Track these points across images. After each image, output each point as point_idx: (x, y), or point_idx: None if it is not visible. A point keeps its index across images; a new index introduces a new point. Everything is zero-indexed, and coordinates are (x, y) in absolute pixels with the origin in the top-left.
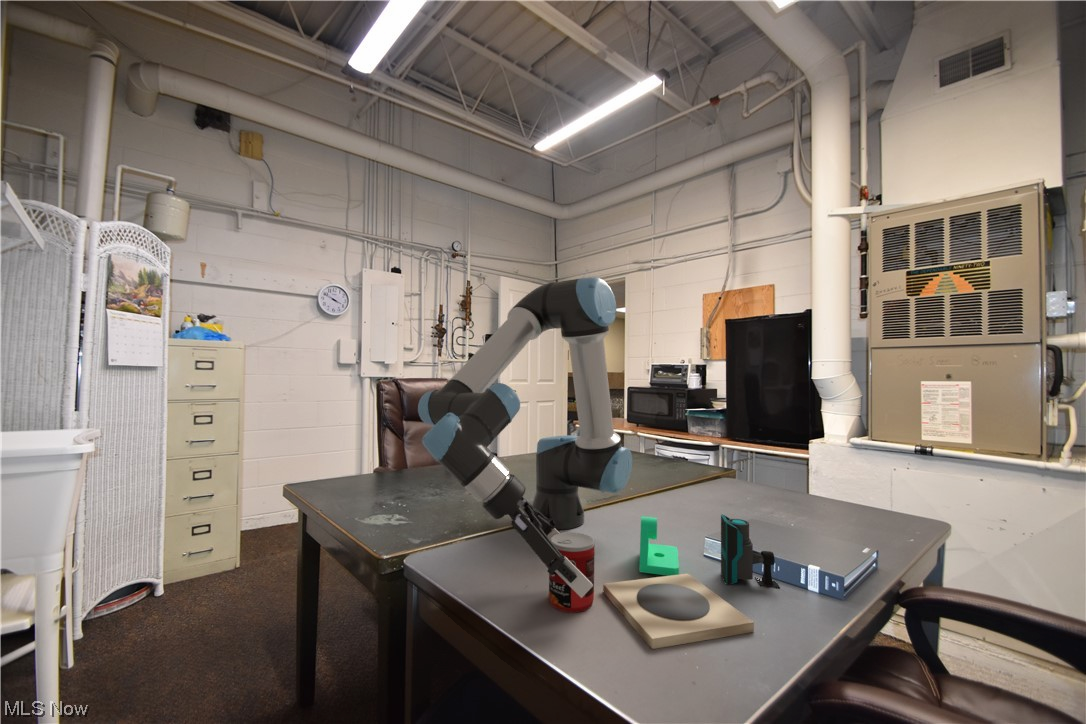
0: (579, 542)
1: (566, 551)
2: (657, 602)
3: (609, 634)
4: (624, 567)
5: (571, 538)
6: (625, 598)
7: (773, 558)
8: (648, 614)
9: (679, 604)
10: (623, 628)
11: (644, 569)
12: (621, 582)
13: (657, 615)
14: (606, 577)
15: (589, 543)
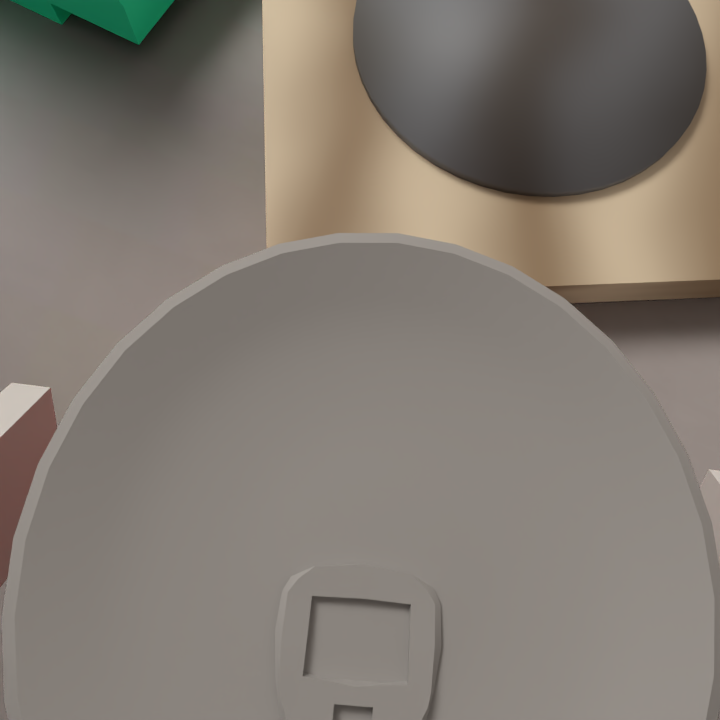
0: (424, 457)
1: None
2: (552, 111)
3: (697, 437)
4: (11, 91)
5: (233, 535)
6: (465, 241)
7: None
8: (641, 199)
9: (579, 28)
10: (648, 350)
11: (149, 10)
12: (276, 189)
13: (654, 164)
14: (101, 233)
15: (534, 337)
